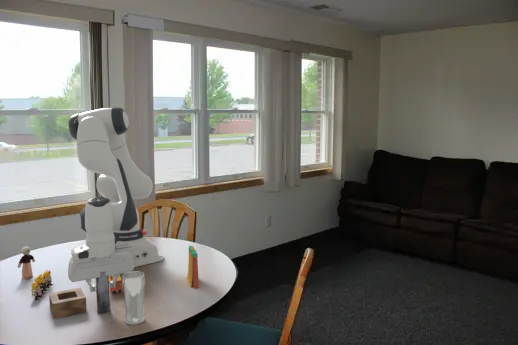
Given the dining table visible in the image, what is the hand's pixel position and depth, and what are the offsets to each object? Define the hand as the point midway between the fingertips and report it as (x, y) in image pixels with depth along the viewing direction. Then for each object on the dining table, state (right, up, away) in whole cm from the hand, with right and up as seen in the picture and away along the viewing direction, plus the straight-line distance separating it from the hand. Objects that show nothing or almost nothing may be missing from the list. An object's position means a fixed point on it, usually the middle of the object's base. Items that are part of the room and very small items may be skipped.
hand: (102, 289), depth 153 cm
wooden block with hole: (-12, -7, +2) cm, 14 cm away
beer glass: (+12, -9, -6) cm, 16 cm away
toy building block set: (+10, -5, +22) cm, 25 cm away
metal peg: (0, -7, +1) cm, 8 cm away
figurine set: (-28, -6, +17) cm, 33 cm away
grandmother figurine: (-40, -4, +32) cm, 51 cm away
